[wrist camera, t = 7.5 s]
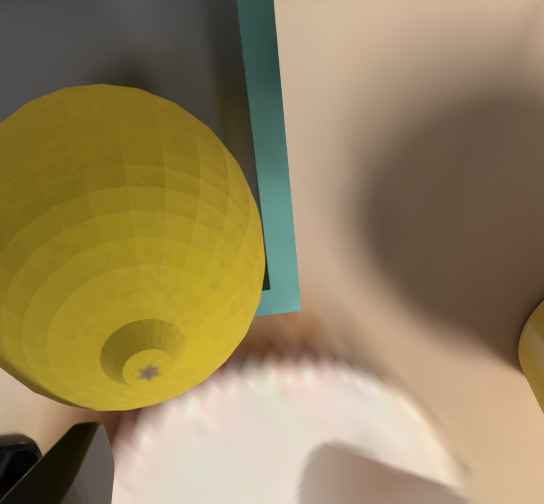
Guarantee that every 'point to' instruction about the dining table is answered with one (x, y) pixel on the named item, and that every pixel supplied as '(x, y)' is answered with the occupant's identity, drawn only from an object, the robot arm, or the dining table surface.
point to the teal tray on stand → (173, 87)
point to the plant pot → (534, 352)
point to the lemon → (121, 248)
